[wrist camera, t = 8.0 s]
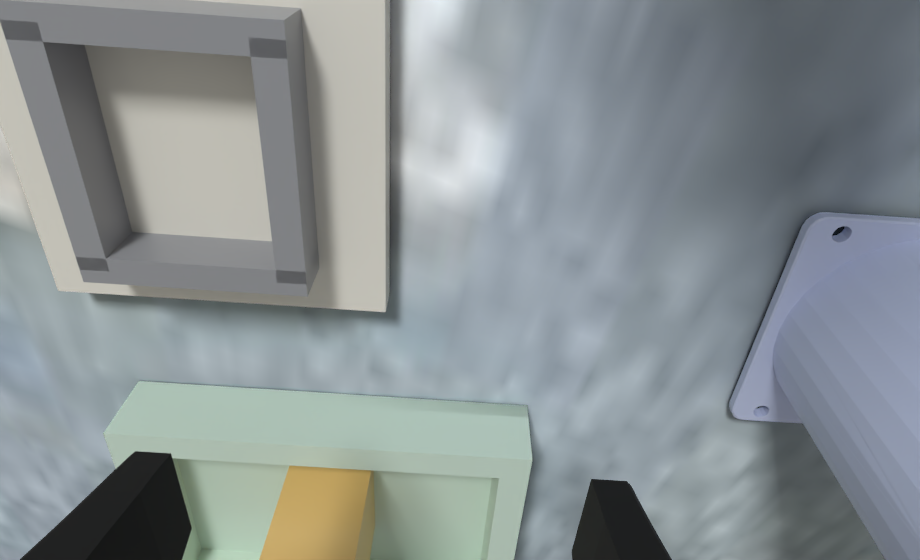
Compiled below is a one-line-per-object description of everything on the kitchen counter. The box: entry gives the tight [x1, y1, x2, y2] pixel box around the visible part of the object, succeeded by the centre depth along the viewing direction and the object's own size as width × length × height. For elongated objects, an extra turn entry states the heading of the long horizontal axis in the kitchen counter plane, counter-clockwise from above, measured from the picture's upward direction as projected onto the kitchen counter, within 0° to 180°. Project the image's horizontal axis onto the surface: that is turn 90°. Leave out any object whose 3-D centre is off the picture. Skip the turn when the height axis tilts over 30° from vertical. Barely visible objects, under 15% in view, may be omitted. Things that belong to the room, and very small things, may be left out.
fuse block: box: [0, 0, 390, 312], centre depth 16 cm, size 10×10×2 cm
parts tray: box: [103, 381, 532, 560], centre depth 24 cm, size 14×10×2 cm
